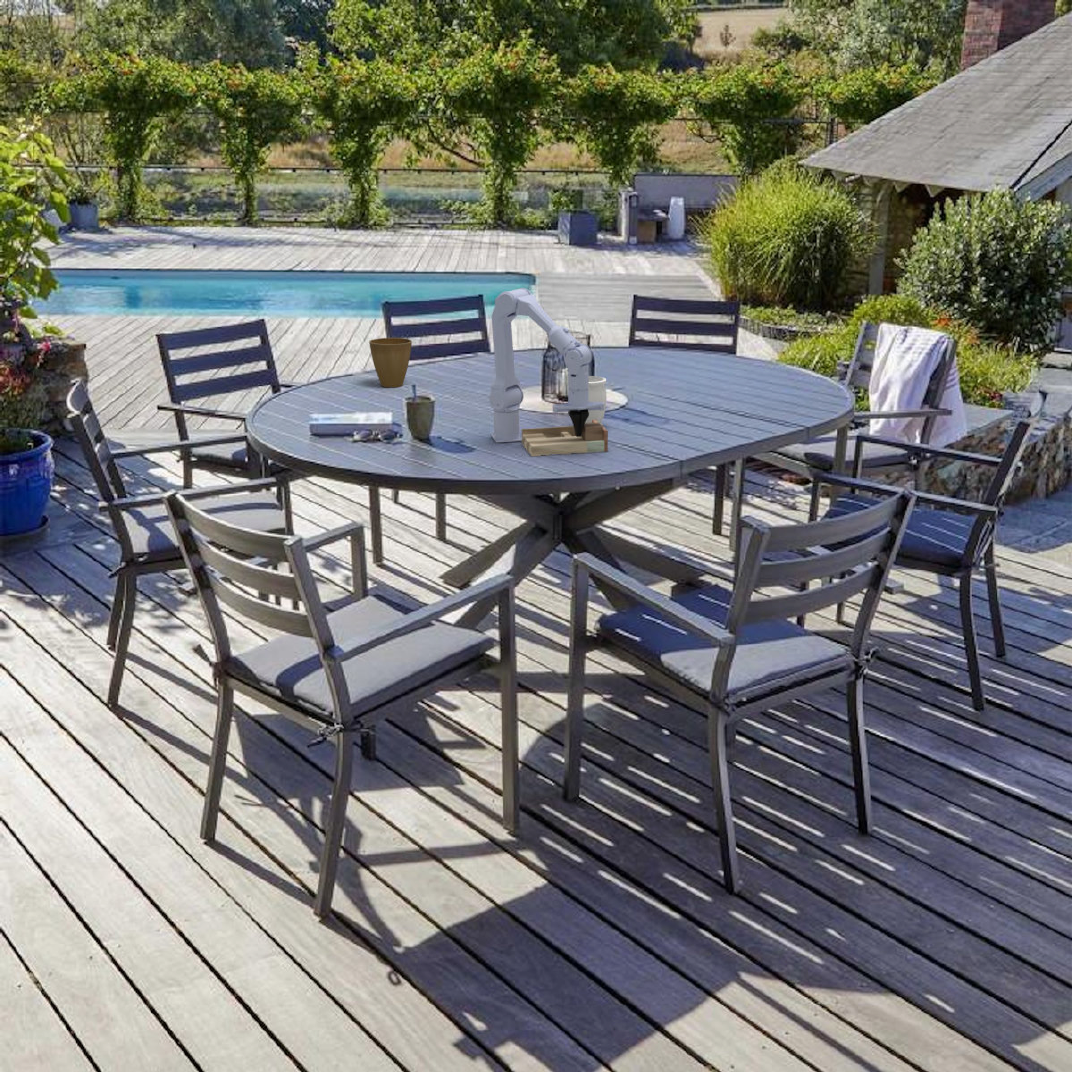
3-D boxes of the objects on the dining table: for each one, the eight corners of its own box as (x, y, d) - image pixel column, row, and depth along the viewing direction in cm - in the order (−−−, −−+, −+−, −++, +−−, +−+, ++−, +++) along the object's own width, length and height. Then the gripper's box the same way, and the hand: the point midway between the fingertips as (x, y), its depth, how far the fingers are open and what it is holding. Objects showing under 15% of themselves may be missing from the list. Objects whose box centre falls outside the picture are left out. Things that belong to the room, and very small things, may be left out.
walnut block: (581, 437, 360) (581, 423, 359) (598, 435, 361) (598, 422, 360) (585, 441, 355) (585, 427, 354) (602, 440, 356) (602, 426, 355)
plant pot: (399, 391, 436) (397, 345, 431) (363, 387, 442) (360, 342, 437) (421, 383, 449) (419, 338, 444) (385, 380, 455) (383, 336, 450)
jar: (609, 430, 379) (609, 381, 374) (575, 432, 378) (575, 383, 373) (602, 422, 389) (602, 374, 384) (569, 424, 388) (569, 376, 383)
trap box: (521, 444, 365) (521, 424, 363) (595, 439, 369) (595, 419, 367) (531, 456, 352) (531, 435, 350) (607, 451, 356) (607, 430, 354)
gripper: (556, 393, 348) (556, 440, 352) (607, 390, 350) (606, 437, 355) (550, 388, 354) (551, 434, 358) (600, 385, 357) (600, 431, 361)
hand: (578, 436), depth 357 cm, fingers closed
